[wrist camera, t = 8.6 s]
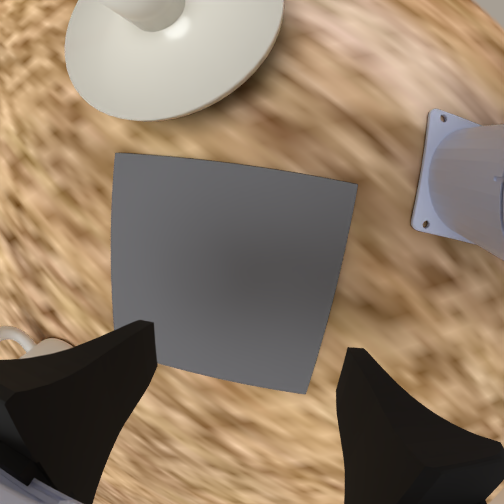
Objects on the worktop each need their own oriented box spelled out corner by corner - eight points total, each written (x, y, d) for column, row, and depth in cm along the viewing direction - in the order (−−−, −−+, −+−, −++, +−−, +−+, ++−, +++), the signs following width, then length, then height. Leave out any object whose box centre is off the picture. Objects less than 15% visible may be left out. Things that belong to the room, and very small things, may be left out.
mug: (12, 322, 27) (-50, 367, 18) (39, 290, 25) (-38, 340, 15) (77, 406, 29) (30, 465, 19) (116, 389, 27) (62, 462, 17)
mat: (356, 184, 19) (357, 184, 18) (305, 390, 24) (305, 394, 23) (118, 152, 20) (115, 152, 20) (118, 347, 25) (116, 350, 25)
